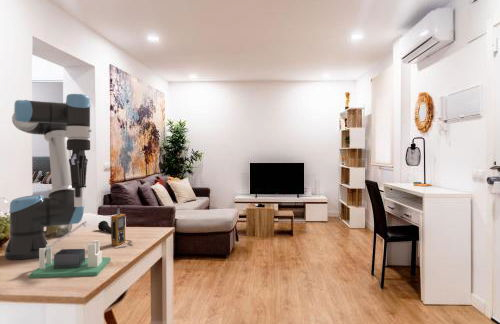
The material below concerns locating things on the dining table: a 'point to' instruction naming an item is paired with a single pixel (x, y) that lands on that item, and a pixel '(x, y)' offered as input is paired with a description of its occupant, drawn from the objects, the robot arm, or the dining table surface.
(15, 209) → the robot arm
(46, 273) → the circuit board
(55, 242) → the clamp bar
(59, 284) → the dining table surface
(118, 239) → the multimeter
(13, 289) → the dining table surface
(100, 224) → the microphone
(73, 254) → the heat sink
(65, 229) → the ceramic sculpture
